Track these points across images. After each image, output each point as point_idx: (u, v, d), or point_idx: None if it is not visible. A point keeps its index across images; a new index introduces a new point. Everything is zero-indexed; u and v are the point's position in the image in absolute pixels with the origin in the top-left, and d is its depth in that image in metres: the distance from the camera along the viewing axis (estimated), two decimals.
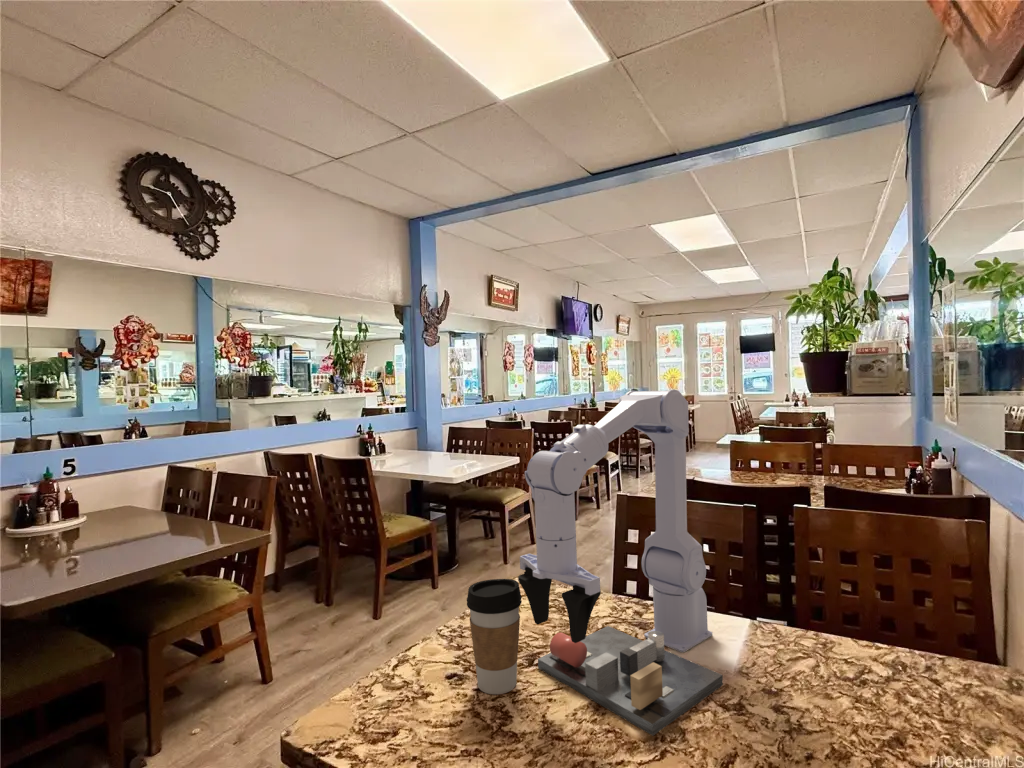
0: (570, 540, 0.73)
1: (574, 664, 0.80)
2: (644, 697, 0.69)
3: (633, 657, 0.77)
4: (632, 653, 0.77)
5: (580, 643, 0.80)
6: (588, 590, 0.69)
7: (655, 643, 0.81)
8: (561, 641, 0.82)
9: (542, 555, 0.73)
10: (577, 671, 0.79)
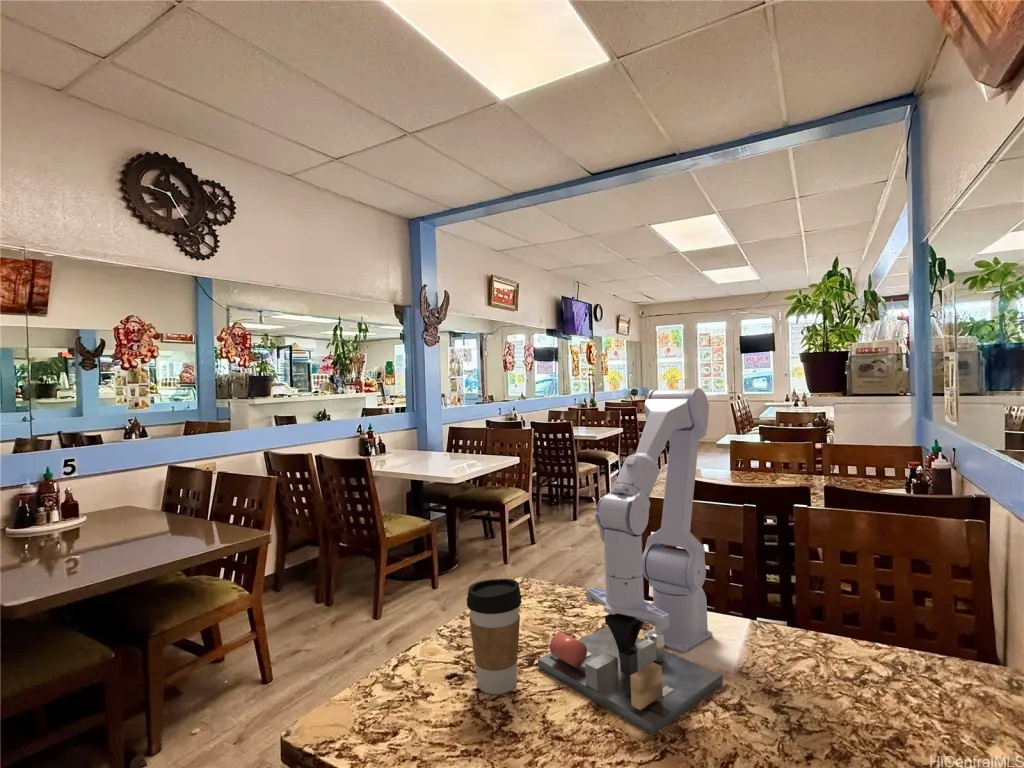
0: (639, 578, 0.78)
1: (574, 664, 0.80)
2: (644, 697, 0.69)
3: (633, 657, 0.77)
4: (632, 653, 0.77)
5: (580, 643, 0.80)
6: (659, 626, 0.74)
7: (655, 643, 0.81)
8: (561, 641, 0.82)
9: (612, 591, 0.79)
10: (577, 671, 0.79)
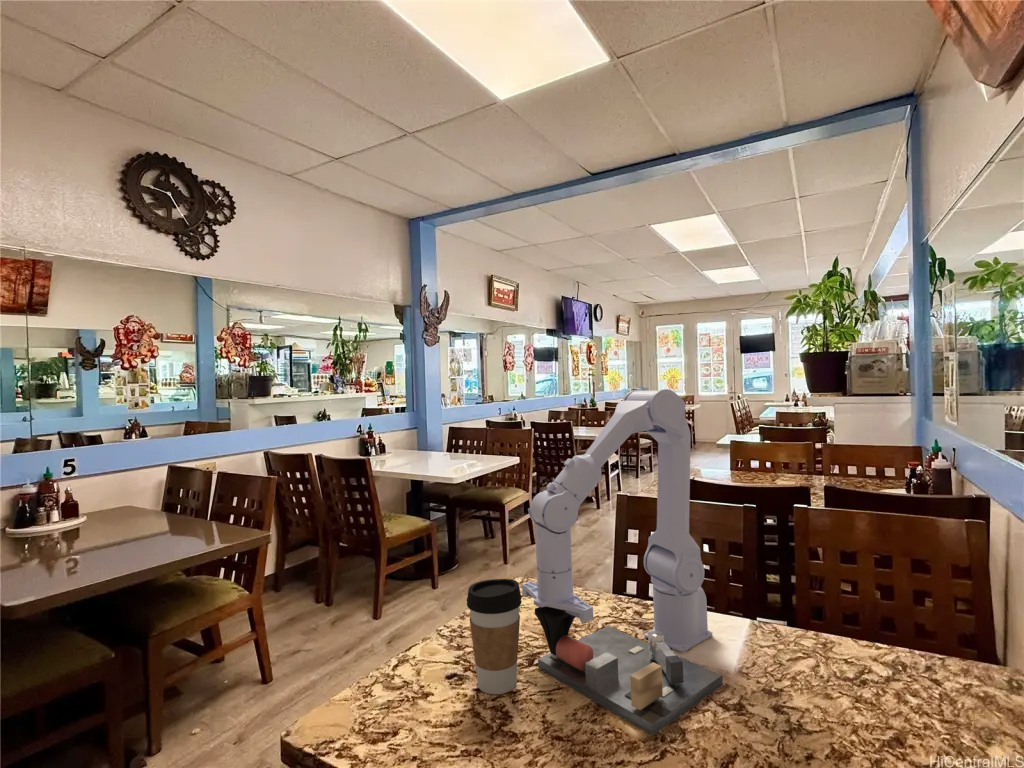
0: (567, 572, 0.82)
1: (580, 667, 0.78)
2: (644, 697, 0.69)
3: None
4: (679, 658, 0.76)
5: (586, 646, 0.79)
6: (583, 618, 0.78)
7: None
8: (567, 644, 0.81)
9: (542, 585, 0.82)
10: (577, 671, 0.79)
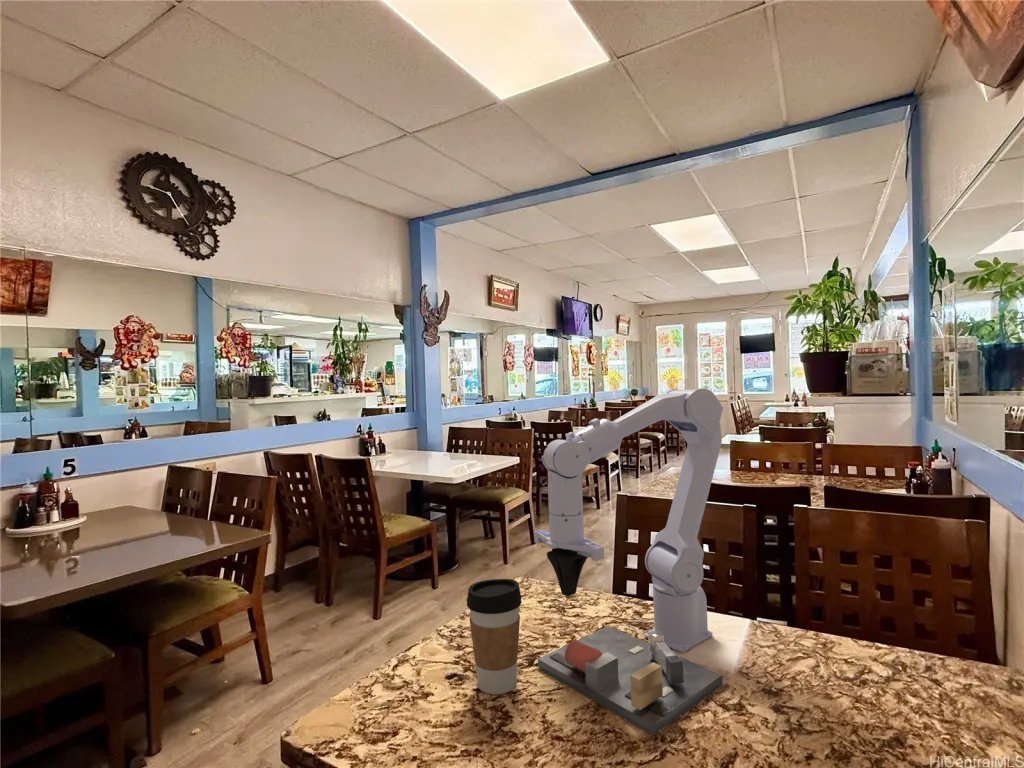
0: (578, 515, 0.85)
1: None
2: (644, 697, 0.69)
3: None
4: (679, 658, 0.76)
5: (596, 651, 0.78)
6: (594, 556, 0.81)
7: None
8: (577, 649, 0.79)
9: (554, 528, 0.86)
10: (577, 671, 0.79)
